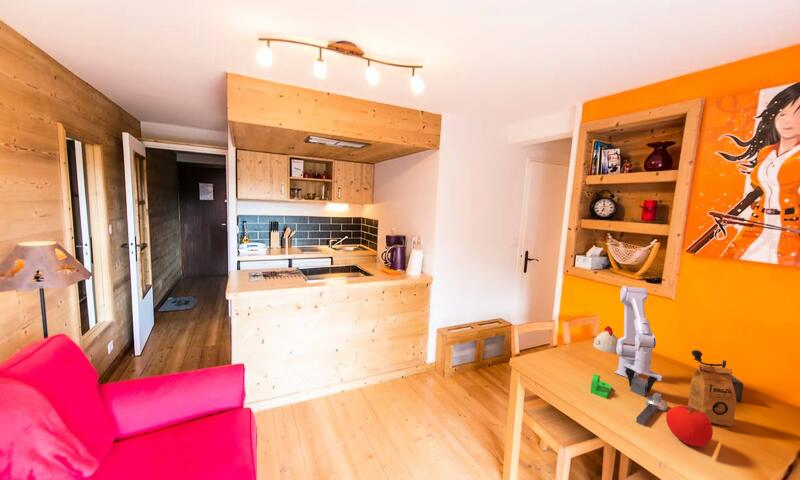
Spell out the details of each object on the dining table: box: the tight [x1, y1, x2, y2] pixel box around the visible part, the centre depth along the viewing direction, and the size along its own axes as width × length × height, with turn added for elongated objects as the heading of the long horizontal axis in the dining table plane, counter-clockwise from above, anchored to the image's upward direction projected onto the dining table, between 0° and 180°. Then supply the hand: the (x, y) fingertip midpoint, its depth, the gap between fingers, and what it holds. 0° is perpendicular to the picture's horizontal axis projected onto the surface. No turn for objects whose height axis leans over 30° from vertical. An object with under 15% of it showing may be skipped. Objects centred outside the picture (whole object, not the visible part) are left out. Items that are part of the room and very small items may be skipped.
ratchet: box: [635, 392, 668, 426], centre depth 130 cm, size 24×7×5 cm, turn 128°
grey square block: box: [629, 375, 648, 398], centre depth 146 cm, size 5×5×6 cm
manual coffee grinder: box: [691, 349, 744, 404], centre depth 147 cm, size 16×11×18 cm
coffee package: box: [687, 364, 737, 427], centre depth 127 cm, size 10×12×22 cm
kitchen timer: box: [592, 325, 619, 355], centre depth 190 cm, size 14×14×15 cm
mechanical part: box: [590, 373, 612, 399], centre depth 146 cm, size 12×6×8 cm, turn 136°
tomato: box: [665, 404, 714, 448], centre depth 114 cm, size 12×12×13 cm
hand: (639, 388), depth 146 cm, fingers open, 6 cm apart
